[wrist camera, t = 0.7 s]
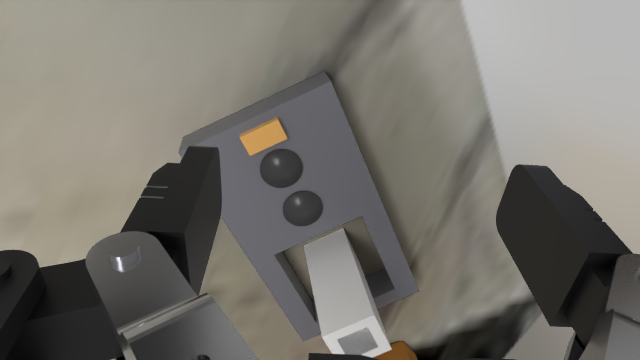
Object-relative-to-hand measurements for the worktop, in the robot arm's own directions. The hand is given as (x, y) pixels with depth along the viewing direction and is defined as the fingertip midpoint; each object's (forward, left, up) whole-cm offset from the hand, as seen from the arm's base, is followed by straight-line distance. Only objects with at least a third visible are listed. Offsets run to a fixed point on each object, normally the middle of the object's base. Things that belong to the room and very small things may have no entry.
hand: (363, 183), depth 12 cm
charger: (+19, -5, -23) cm, 30 cm away
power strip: (+14, -5, -23) cm, 27 cm away
